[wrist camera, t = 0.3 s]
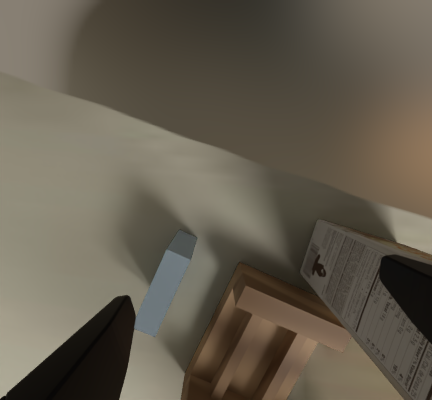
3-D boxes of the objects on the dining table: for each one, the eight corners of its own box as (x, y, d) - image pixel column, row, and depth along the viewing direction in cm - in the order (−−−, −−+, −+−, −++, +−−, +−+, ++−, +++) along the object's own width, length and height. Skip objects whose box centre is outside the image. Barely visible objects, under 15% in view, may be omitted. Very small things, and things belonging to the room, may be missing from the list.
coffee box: (400, 240, 23) (807, 388, 7) (378, 297, 24) (704, 545, 8) (315, 216, 23) (546, 314, 7) (295, 274, 24) (463, 485, 8)
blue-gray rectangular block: (170, 296, 24) (155, 337, 18) (152, 288, 24) (131, 327, 18) (197, 237, 23) (190, 259, 17) (179, 229, 23) (166, 249, 17)
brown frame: (266, 407, 25) (279, 464, 20) (184, 373, 25) (177, 423, 20) (325, 299, 24) (354, 332, 19) (239, 261, 23) (245, 285, 18)
